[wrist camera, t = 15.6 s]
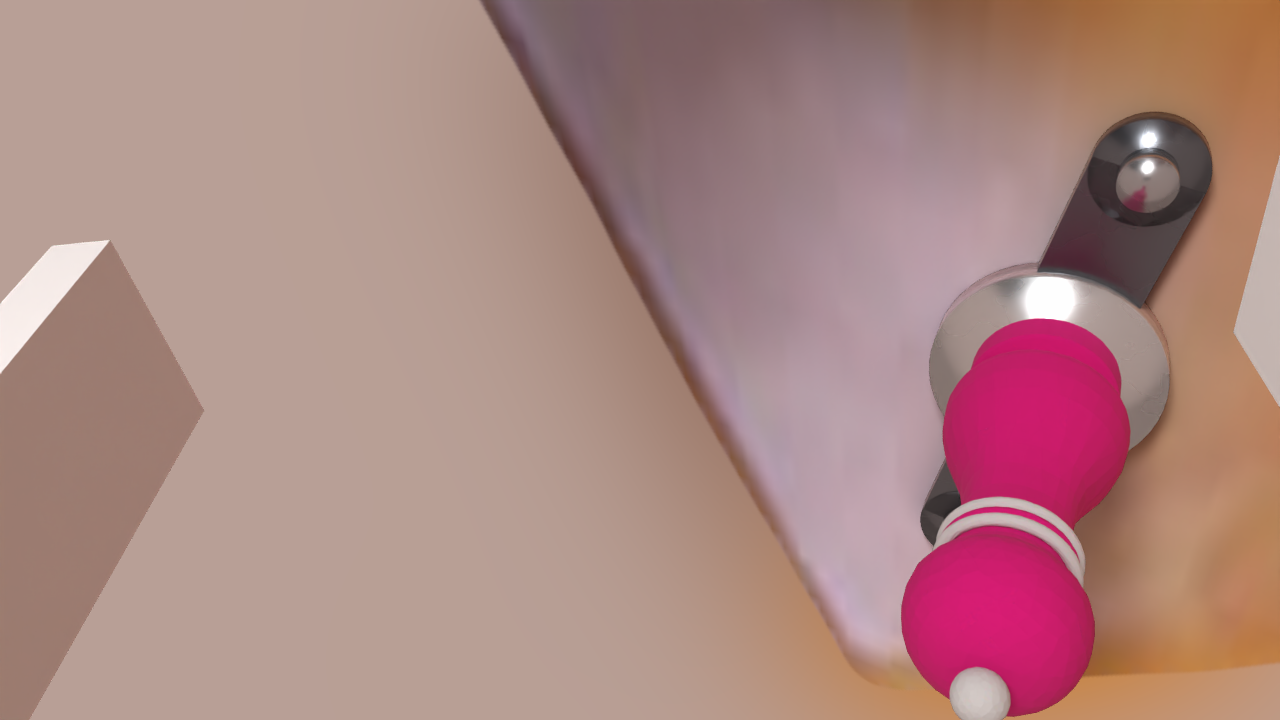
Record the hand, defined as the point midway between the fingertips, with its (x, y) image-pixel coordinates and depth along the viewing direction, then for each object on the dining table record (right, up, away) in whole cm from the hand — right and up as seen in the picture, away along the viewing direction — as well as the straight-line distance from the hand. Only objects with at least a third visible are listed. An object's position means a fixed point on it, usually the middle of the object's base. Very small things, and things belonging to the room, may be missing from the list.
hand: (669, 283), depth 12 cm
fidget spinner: (+18, -1, +35) cm, 40 cm away
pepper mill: (+18, -2, +34) cm, 39 cm away
